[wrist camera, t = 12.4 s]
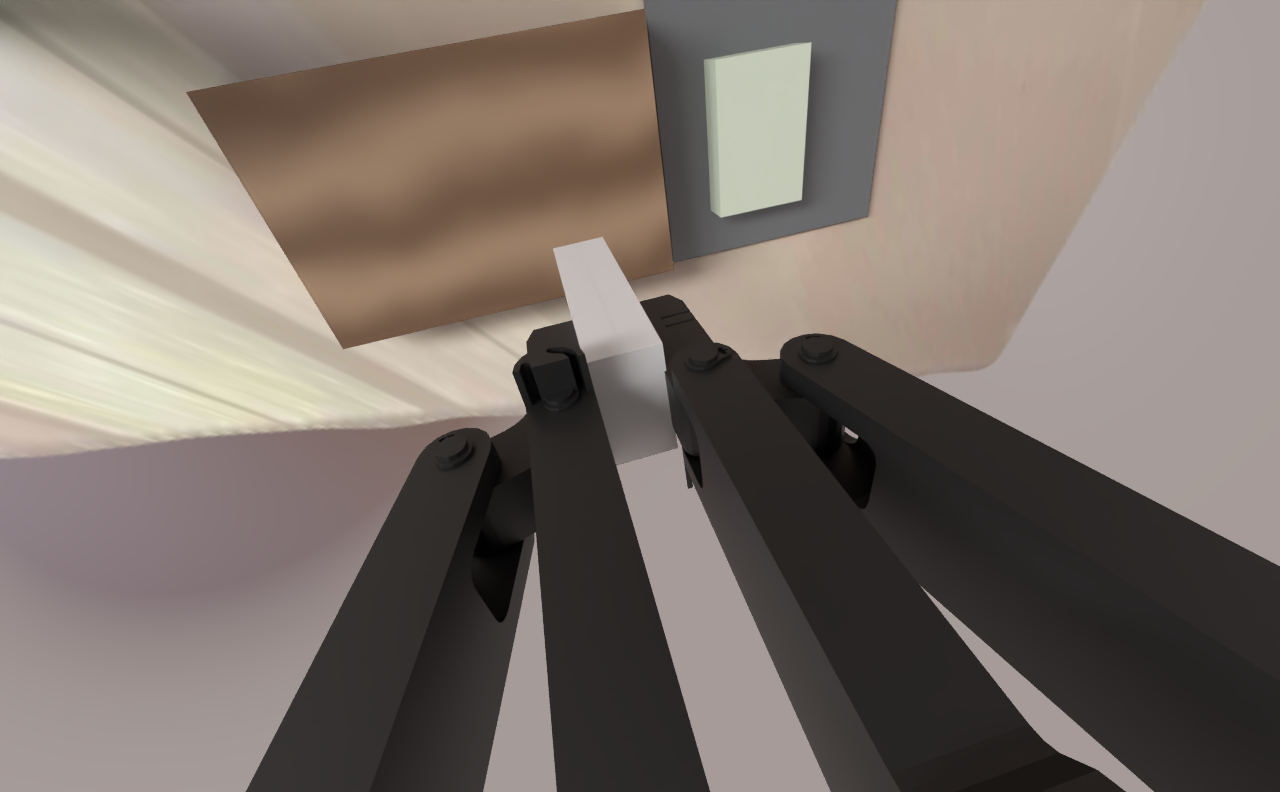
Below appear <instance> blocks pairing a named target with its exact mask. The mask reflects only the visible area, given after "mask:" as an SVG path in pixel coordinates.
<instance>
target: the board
mask: <svg viewBox="0 0 1280 792" xmlns="http://www.w3.org/2000/svg"><path fill="white" fill-rule="evenodd" d="M186 93H187V94H188V96H189V98H190V99H191V101H192V102H193V104H194V106H195V107H196V109H197V111H198V112H199V114H200V116H201V117H202V119H203V120H204V122H205V124H206V125H207V127H208V129H209V130H210V132H211V134H212V135H213V137H214V138H215V140H216V142H217V143H218V145H219V147H220V148H221V150H222V152H223V153H224V155H225V156H226V158H227V160H228V161H229V163H230V165H231V166H232V168H233V170H234V171H235V173H236V174H237V176H238V178H239V179H240V181H241V183H242V184H243V186H244V188H245V189H246V191H247V192H248V194H249V196H250V197H251V199H252V201H253V202H254V204H255V206H256V207H257V209H258V210H259V212H260V214H261V215H262V217H263V219H264V220H265V222H266V224H267V225H268V227H269V228H270V230H271V232H272V233H273V235H274V237H275V238H276V240H277V242H278V243H279V245H280V246H281V248H282V250H283V251H284V253H285V255H286V256H287V258H288V260H289V261H290V263H291V264H292V266H293V268H294V269H295V271H296V273H297V274H298V276H299V278H300V279H301V281H302V282H303V284H304V286H305V287H306V289H307V291H308V292H309V294H310V296H311V297H312V299H313V300H314V302H315V304H316V305H317V307H318V309H319V310H320V312H321V314H322V315H323V317H324V318H325V320H326V322H327V323H328V325H329V327H330V328H331V330H332V332H333V333H334V335H335V336H336V338H337V340H338V341H339V343H340V345H341V346H342V348H343V349H346V348H350V347H354V346H359V345H363V344H367V343H371V342H375V341H379V340H383V339H388V338H392V337H396V336H400V335H404V334H408V333H413V332H417V331H421V330H425V329H429V328H433V327H438V326H442V325H446V324H450V323H454V322H458V321H462V320H467V319H471V318H475V317H479V316H483V315H487V314H492V313H496V312H500V311H504V310H508V309H512V308H517V307H521V306H525V305H529V304H533V303H537V302H542V301H546V300H550V299H554V298H558V297H562V296H566V295H565V291H564V288H563V284H562V280H561V277H560V273H559V269H558V266H557V262H556V258H555V255H554V251H553V248H557V247H562V246H566V245H570V244H574V243H579V242H583V241H587V240H591V239H595V238H600V237H603V239H604V240H605V242H606V244H607V246H608V247H609V249H610V251H611V253H612V254H613V256H614V258H615V260H616V262H617V263H618V265H619V267H620V269H621V270H622V272H623V274H624V276H625V278H626V279H627V281H629V280H633V279H637V278H641V277H645V276H650V275H654V274H658V273H662V272H666V271H670V270H674V267H673V258H672V249H671V240H670V231H669V222H668V213H667V204H666V195H665V186H664V177H663V168H662V159H661V150H660V141H659V132H658V123H657V114H656V105H655V96H654V87H653V78H652V69H651V60H650V51H649V42H648V33H647V24H646V15H645V9H641V10H635V11H630V12H624V13H619V14H613V15H608V16H602V17H597V18H591V19H586V20H580V21H575V22H569V23H564V24H558V25H553V26H547V27H542V28H536V29H531V30H525V31H520V32H514V33H509V34H503V35H498V36H492V37H487V38H481V39H476V40H470V41H465V42H459V43H454V44H448V45H443V46H437V47H432V48H426V49H421V50H415V51H410V52H404V53H399V54H393V55H388V56H382V57H377V58H371V59H366V60H360V61H355V62H349V63H344V64H338V65H333V66H327V67H322V68H316V69H311V70H305V71H300V72H294V73H289V74H283V75H278V76H272V77H267V78H261V79H256V80H250V81H245V82H239V83H234V84H228V85H223V86H217V87H212V88H206V89H201V90H195V91H190V92H186Z"/></svg>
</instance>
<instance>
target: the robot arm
mask: <svg viewBox="0 0 1280 792" xmlns="http://www.w3.org/2000/svg"><path fill="white" fill-rule="evenodd" d="M553 251H554V255H555V258H556V262H557V266H558V269H559V273H560V277H561V280H562V284H563V288H564V291H565V295H566V299H567V303H568V306H569V310H570V314H571V317H572V321H568V322H564V323H560V324H556V325H552V326H548V327H544V328H540V329H536V330H533V332H532V334H531V335H530V337H529V339H528V340H527V342H526V343H527V354H526V355H524V356H523V357H521V359H520V360H519V361H518V362H517V363H516V364H515V366H514V369H513V372H512V373H513V376H514V378H515V381H516V384H517V386H518V389H519V391H520V394H521V396H522V399H523V402H524V404H525V407H526V413H527V414H526V415H525V416H524V417H523V419H521V420H520V421H519V422H518V423H517V424H515V425H514V426H512V427H511V428H509V429H507V430H506V431H504V432H502V433H500V434H498V435H496V436H494V437H492V438H490V437H489V435H488V434H487V432H485V431H483V430H480V429H478V428H464V429H459V430H455V431H451V432H449V433H447V434H445V435H442V436H441V437H439V438H437V439H436V440H434V441H433V442H432V443H430V444H429V445H428V446H427V447H426V448H425V449H424V450H423V452H422V453H421V454H420V455H419V457H418V458H417V460H416V462H415V464H414V466H413V468H412V470H411V472H410V474H409V476H408V478H407V480H406V482H405V484H404V486H403V488H402V489H401V491H400V493H399V495H398V497H397V499H396V501H395V503H394V505H393V507H392V509H391V511H390V513H389V515H388V517H387V519H386V521H385V522H384V524H383V526H382V528H381V530H380V532H379V534H378V536H377V538H376V540H375V542H374V544H373V546H372V548H371V550H370V552H369V554H368V555H367V558H366V559H365V561H364V563H363V565H362V567H361V569H360V571H359V573H358V575H357V577H356V579H355V581H354V583H353V585H352V587H351V588H350V591H349V592H348V594H347V596H346V598H345V600H344V602H343V604H342V606H341V608H340V610H339V612H338V614H337V616H336V618H335V620H334V622H333V624H332V625H331V627H330V629H329V631H328V633H327V635H326V637H325V639H324V641H323V643H322V645H321V647H320V649H319V651H318V653H317V655H316V656H315V658H314V660H313V662H312V664H311V666H310V668H309V670H308V672H307V674H306V676H305V678H304V680H303V682H302V684H301V686H300V688H299V689H298V691H297V693H296V695H295V698H294V699H293V701H292V703H291V705H290V707H289V709H288V711H287V713H286V715H285V717H284V719H283V721H282V722H281V724H280V727H279V728H278V730H277V732H276V734H275V736H274V738H273V740H272V742H271V744H270V746H269V748H268V750H267V752H266V754H265V756H264V757H263V759H262V761H261V763H260V765H259V767H258V769H257V771H256V773H255V775H254V777H253V779H252V781H251V783H250V785H249V787H248V789H247V790H246V792H483V789H484V784H485V779H486V774H487V769H488V765H489V759H490V755H491V750H492V745H493V740H494V735H495V730H496V726H497V721H498V716H499V711H500V706H501V701H502V696H503V691H504V687H505V681H506V677H507V672H508V667H509V662H510V657H511V652H512V647H513V643H514V638H515V633H516V628H517V623H518V618H519V613H520V609H521V604H522V599H523V593H524V589H525V584H526V579H527V574H528V570H529V565H530V560H531V555H532V550H533V545H534V533H535V532H536V537H537V548H538V562H539V574H540V587H541V599H542V612H543V624H544V636H545V649H546V660H547V674H548V686H549V698H550V710H551V723H552V735H553V748H554V761H555V773H556V785H557V792H710V790H709V786H708V783H707V779H706V776H705V773H704V769H703V766H702V762H701V759H700V755H699V752H698V748H697V745H696V741H695V738H694V734H693V731H692V728H691V724H690V720H689V717H688V713H687V710H686V706H685V703H684V699H683V696H682V693H681V689H680V686H679V682H678V679H677V675H676V672H675V668H674V665H673V662H672V658H671V655H670V651H669V648H668V644H667V641H666V637H665V634H664V630H663V627H662V623H661V620H660V617H659V613H658V610H657V606H656V603H655V599H654V595H653V592H652V588H651V585H650V582H649V578H648V575H647V571H646V568H645V564H644V561H643V557H642V554H641V550H640V547H639V543H638V540H637V536H636V533H635V529H634V526H633V522H632V519H631V516H630V512H629V509H628V505H627V502H626V499H625V495H624V491H623V488H622V484H621V481H620V477H619V474H618V471H617V467H616V465H619V464H623V463H627V462H630V461H633V460H637V459H641V458H644V457H648V456H651V455H655V454H658V453H661V452H665V451H669V450H672V449H676V448H677V447H678V446H677V439H676V434H677V436H678V438H679V440H680V443H681V445H682V450H683V457H684V463H685V471H686V479H687V485H688V488H692V487H693V484H694V486H695V489H696V491H697V493H698V495H699V497H700V500H701V502H702V504H703V506H704V509H705V511H706V513H707V515H708V518H709V520H710V522H711V524H712V527H713V528H714V531H715V533H716V536H717V538H718V540H719V542H720V544H721V547H722V549H723V551H724V553H725V556H726V558H727V560H728V562H729V565H730V567H731V569H732V571H733V574H734V576H735V578H736V580H737V582H738V585H739V587H740V589H741V591H742V593H743V596H744V598H745V600H746V603H747V605H748V607H749V609H750V612H751V614H752V616H753V618H754V621H755V623H756V625H757V627H758V629H759V632H760V634H761V636H762V638H763V641H764V643H765V645H766V647H767V650H768V652H769V654H770V656H771V659H772V661H773V663H774V665H775V668H776V670H777V672H778V674H779V677H780V679H781V681H782V683H783V685H784V688H785V690H786V692H787V694H788V697H789V699H790V701H791V703H792V706H793V708H794V710H795V712H796V715H797V717H798V719H799V721H800V723H801V726H802V728H803V730H804V732H805V734H806V737H807V739H808V741H809V743H810V746H811V748H812V750H813V752H814V755H815V757H816V759H817V762H818V764H819V766H820V768H821V771H822V773H823V775H824V777H825V779H826V782H827V784H828V786H829V788H830V791H831V792H1126V791H1124V790H1123V789H1122V788H1120V787H1119V786H1118V785H1116V784H1115V783H1114V782H1113V781H1111V780H1110V779H1109V778H1107V777H1106V776H1105V775H1103V774H1102V773H1101V772H1099V771H1098V770H1096V769H1094V768H1092V767H1090V766H1087V765H1085V764H1083V763H1081V762H1079V761H1076V760H1074V759H1072V758H1070V757H1067V756H1065V755H1063V754H1061V753H1059V752H1058V751H1056V750H1055V749H1054V748H1053V747H1051V746H1050V745H1049V744H1047V743H1046V742H1045V741H1044V740H1043V739H1042V738H1041V737H1040V736H1039V735H1038V734H1037V733H1036V731H1034V730H1033V728H1032V727H1031V726H1030V725H1029V724H1028V722H1027V721H1026V720H1025V719H1024V717H1023V716H1022V715H1021V714H1020V713H1019V711H1018V710H1017V709H1016V707H1015V706H1014V705H1013V704H1012V702H1011V701H1010V700H1009V698H1008V697H1007V696H1006V694H1005V693H1004V692H1003V691H1002V689H1001V688H1000V687H999V686H998V685H997V683H996V682H995V681H994V679H993V678H992V677H991V675H990V674H989V673H988V672H987V670H986V669H985V668H984V667H983V666H982V664H981V663H980V661H979V660H978V659H977V658H976V657H975V655H974V654H973V653H972V651H971V650H970V649H969V647H968V646H967V645H966V644H965V642H964V641H963V640H962V639H961V637H960V636H959V635H958V633H957V632H956V631H955V630H954V628H953V627H952V626H951V625H950V623H949V622H948V621H947V620H946V618H945V617H944V616H943V615H942V613H941V612H940V611H939V610H938V608H937V607H936V606H935V604H934V603H933V602H932V601H931V599H930V598H929V597H928V595H927V594H926V593H925V592H924V590H923V589H922V588H921V586H922V587H923V588H924V589H925V590H926V591H927V592H929V593H930V594H931V595H932V596H933V597H934V598H935V599H936V600H937V601H939V602H940V603H941V604H942V605H943V606H944V607H945V608H946V609H948V610H949V611H950V612H951V613H952V614H953V615H955V616H956V617H957V618H958V619H959V620H960V621H961V622H962V623H963V624H965V625H966V626H967V627H968V628H969V629H970V630H972V631H973V632H974V633H975V634H976V635H977V636H978V637H979V638H981V639H982V640H983V641H984V642H985V643H986V644H987V645H988V646H990V647H991V648H992V649H993V650H994V651H995V652H996V653H998V654H999V655H1000V656H1001V657H1002V658H1003V659H1004V660H1005V661H1007V662H1008V663H1009V664H1010V665H1011V666H1012V667H1013V668H1015V669H1016V670H1017V671H1018V672H1019V673H1020V674H1021V675H1022V676H1024V677H1025V678H1026V679H1027V680H1028V681H1030V683H1032V684H1033V685H1034V686H1035V687H1036V688H1037V689H1038V690H1040V691H1041V692H1042V693H1043V694H1044V695H1045V696H1046V697H1047V698H1049V699H1050V700H1051V701H1052V702H1053V703H1054V704H1055V705H1057V706H1058V707H1059V708H1060V709H1061V710H1062V711H1063V712H1065V713H1066V714H1067V715H1068V716H1069V717H1070V718H1071V719H1073V720H1074V721H1075V722H1076V723H1077V724H1078V725H1079V726H1080V727H1082V728H1083V729H1084V730H1085V731H1086V732H1087V733H1088V734H1089V735H1091V736H1092V737H1093V738H1094V739H1095V740H1096V741H1097V742H1099V743H1100V744H1101V745H1102V746H1103V747H1104V748H1105V749H1106V750H1108V751H1109V752H1110V753H1111V754H1112V755H1113V756H1114V757H1116V758H1117V759H1118V760H1119V761H1120V762H1121V763H1122V764H1123V765H1125V766H1126V767H1127V768H1128V769H1129V770H1130V771H1131V772H1133V773H1134V774H1135V775H1136V776H1137V777H1138V778H1139V779H1141V780H1142V781H1143V782H1144V783H1145V784H1146V785H1147V786H1148V787H1150V788H1151V789H1152V790H1153V791H1154V792H1280V566H1278V565H1276V564H1274V563H1272V562H1270V561H1268V560H1266V559H1264V558H1263V557H1260V556H1259V555H1257V554H1255V553H1253V552H1251V551H1249V550H1247V549H1245V548H1243V547H1241V546H1240V545H1238V544H1236V543H1234V542H1232V541H1230V540H1228V539H1226V538H1224V537H1222V536H1220V535H1218V534H1216V533H1214V532H1212V531H1211V530H1208V529H1207V528H1205V527H1203V526H1201V525H1199V524H1197V523H1195V522H1193V521H1191V520H1190V519H1188V518H1186V517H1184V516H1182V515H1180V514H1178V513H1176V512H1174V511H1172V510H1170V509H1168V508H1166V507H1164V506H1163V505H1161V504H1159V503H1157V502H1155V501H1153V500H1151V499H1149V498H1147V497H1145V496H1143V495H1141V494H1140V493H1138V492H1136V491H1134V490H1132V489H1130V488H1128V487H1126V486H1124V485H1122V484H1120V483H1118V482H1116V481H1115V480H1112V479H1111V478H1109V477H1107V476H1105V475H1103V474H1101V473H1099V472H1097V471H1095V470H1093V469H1092V468H1090V467H1088V466H1086V465H1084V464H1082V463H1080V462H1078V461H1076V460H1074V459H1072V458H1070V457H1068V456H1066V455H1065V454H1063V453H1061V452H1059V451H1057V450H1055V449H1053V448H1051V447H1049V446H1047V445H1045V444H1043V443H1042V442H1039V441H1038V440H1036V439H1034V438H1032V437H1030V436H1028V435H1026V434H1024V433H1022V432H1020V431H1018V430H1017V429H1014V428H1013V427H1011V426H1009V425H1007V424H1005V423H1003V422H1001V421H999V420H997V419H995V418H993V417H992V416H990V415H987V414H986V413H984V412H982V411H980V410H978V409H976V408H974V407H972V406H970V405H968V404H966V403H965V402H963V401H961V400H959V399H957V398H955V397H953V396H951V395H949V394H947V393H945V392H944V391H941V390H940V389H938V388H936V387H934V386H932V385H930V384H928V383H926V382H924V381H922V380H920V379H919V378H917V377H915V376H913V375H911V374H909V373H907V372H905V371H903V370H901V369H899V368H897V367H895V366H894V365H892V364H890V363H888V362H886V361H884V360H882V359H880V358H878V357H876V356H874V355H872V354H870V353H869V352H867V351H865V350H863V349H861V348H859V347H857V346H855V345H853V344H851V343H849V342H847V341H845V340H843V339H841V338H838V337H835V336H832V335H825V334H806V335H802V336H798V337H795V338H792V339H791V340H789V341H788V342H786V343H785V344H784V345H783V347H782V349H781V350H780V359H772V360H742V359H741V358H740V356H739V355H738V354H737V353H736V352H735V351H734V350H733V349H732V348H730V347H729V346H726V345H723V344H720V343H713V341H712V340H711V339H710V337H709V336H708V335H707V333H706V332H705V330H704V329H703V328H702V326H701V325H700V324H699V322H698V321H697V320H696V319H695V317H694V316H693V314H692V313H691V312H690V310H689V309H688V308H687V306H686V305H685V303H684V302H683V301H682V300H680V299H677V298H675V297H673V296H671V295H669V294H668V295H665V296H661V297H657V298H653V299H649V300H645V301H641V302H639V301H638V299H637V297H636V295H635V294H634V292H633V290H632V288H631V286H630V285H629V283H628V281H627V279H626V278H625V276H624V274H623V272H622V270H621V269H620V267H619V265H618V263H617V262H616V260H615V258H614V256H613V254H612V253H611V251H610V249H609V247H608V246H607V244H606V242H605V240H604V239H603V237H600V238H595V239H591V240H587V241H583V242H579V243H574V244H570V245H566V246H562V247H557V248H553ZM845 427H847V428H848V429H849V430H851V431H852V432H854V433H855V434H857V435H858V439H856V438H853V437H851V436H850V435H848V434H847V433H846V432H844V431H845ZM692 482H693V484H692Z"/></svg>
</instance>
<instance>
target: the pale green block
mask: <svg viewBox="0 0 1280 792" xmlns="http://www.w3.org/2000/svg"><path fill="white" fill-rule="evenodd" d="M811 43H812V42H809V43H793V44H788V45H782V46H777V47H771V48H766V49H760V50H755V51H749V52H744V53H738V54H733V55H727V56H722V57H716V58H711V59H705V60H704V76H705V97H706V118H707V140H708V161H709V182H710V203H711V211H712V212H714V213H715V214H717V215H718V216H719V217H721V218H722V217H726V216H731V215H735V214H740V213H744V212H749V211H754V210H758V209H763V208H767V207H772V206H776V205H781V204H785V203H790V202H795V201H799V200H802V186H803V170H804V154H805V139H806V123H807V107H808V91H809V75H810V59H811Z"/></svg>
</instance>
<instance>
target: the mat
mask: <svg viewBox="0 0 1280 792" xmlns="http://www.w3.org/2000/svg"><path fill="white" fill-rule="evenodd" d="M896 1H897V0H644V9H645V15H646V24H647V33H648V42H649V51H650V60H651V69H652V78H653V87H654V96H655V105H656V114H657V123H658V132H659V141H660V150H661V159H662V168H663V177H664V186H665V195H666V204H667V213H668V222H669V231H670V240H671V249H672V258H673V262H678V261H682V260H686V259H690V258H695V257H699V256H703V255H707V254H711V253H715V252H720V251H724V250H728V249H732V248H736V247H741V246H745V245H749V244H753V243H757V242H762V241H766V240H770V239H774V238H778V237H782V236H787V235H791V234H795V233H799V232H803V231H808V230H812V229H816V228H820V227H824V226H829V225H833V224H837V223H841V222H845V221H849V220H854V219H858V218H862V217H866V216H868V208H869V201H870V193H871V186H872V179H873V171H874V164H875V157H876V149H877V142H878V134H879V127H880V120H881V112H882V105H883V97H884V90H885V83H886V75H887V68H888V60H889V53H890V46H891V38H892V31H893V24H894V16H895V9H896ZM809 42H812V43H811V59H810V75H809V91H808V107H807V123H806V139H805V154H804V170H803V186H802V200H799V201H795V202H790V203H785V204H781V205H776V206H772V207H767V208H763V209H758V210H754V211H749V212H744V213H740V214H735V215H731V216H726V217H722V218H721V217H719V216H718V215H717V214H715V213H714V212H712V211H711V203H710V182H709V161H708V140H707V118H706V97H705V76H704V60H705V59H711V58H716V57H722V56H727V55H733V54H738V53H744V52H749V51H755V50H760V49H766V48H771V47H777V46H782V45H788V44H793V43H809Z"/></svg>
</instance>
